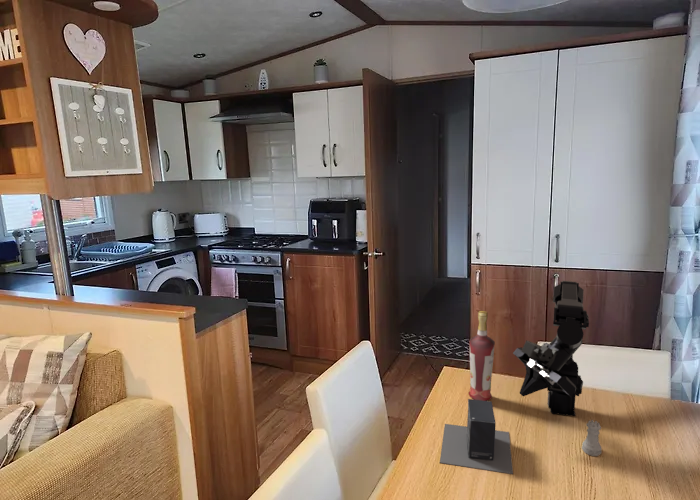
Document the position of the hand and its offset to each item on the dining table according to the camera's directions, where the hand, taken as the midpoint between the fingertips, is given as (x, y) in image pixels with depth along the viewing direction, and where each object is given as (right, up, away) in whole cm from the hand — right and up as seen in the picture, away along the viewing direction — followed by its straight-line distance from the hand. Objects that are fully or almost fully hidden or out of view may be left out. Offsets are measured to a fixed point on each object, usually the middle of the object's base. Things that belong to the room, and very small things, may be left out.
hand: (521, 394), depth 117 cm
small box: (-11, -14, 0) cm, 17 cm away
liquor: (-4, -9, +23) cm, 25 cm away
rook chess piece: (+17, -14, -3) cm, 22 cm away
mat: (-12, -14, 0) cm, 18 cm away
